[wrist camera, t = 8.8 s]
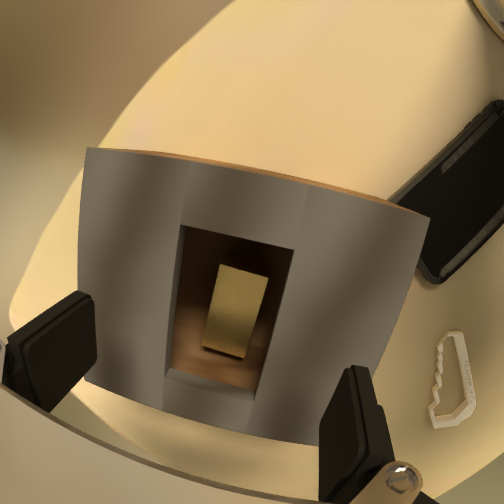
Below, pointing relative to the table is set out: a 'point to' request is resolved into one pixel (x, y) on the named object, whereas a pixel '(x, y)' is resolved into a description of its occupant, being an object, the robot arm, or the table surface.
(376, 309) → the box
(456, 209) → the phone
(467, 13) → the table surface
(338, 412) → the robot arm
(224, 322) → the wooden block
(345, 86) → the table surface
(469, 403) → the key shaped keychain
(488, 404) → the table surface
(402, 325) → the table surface
